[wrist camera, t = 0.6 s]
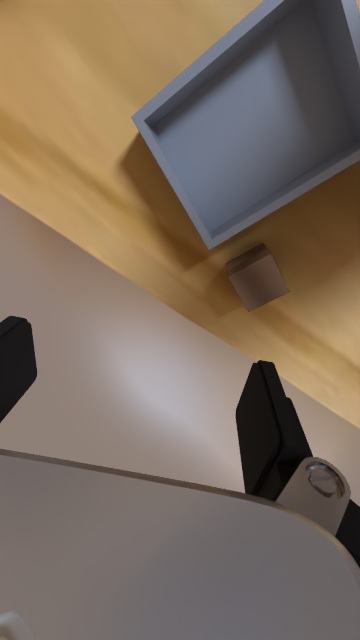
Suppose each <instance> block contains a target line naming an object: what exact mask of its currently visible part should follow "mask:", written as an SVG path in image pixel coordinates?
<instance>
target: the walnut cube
mask: <svg viewBox="0 0 360 640" xmlns="http://www.w3.org/2000/svg"><path fill="white" fill-rule="evenodd" d="M226 269H227V274H228V278H229V280H230V281H231V283H232V285H233V287H234V288H235V290H236V292H237V293H238V295H239V297H240V299H241V300H242V302H243V304H244V306H245V307H246V309H247V311H248V312H249V311H251V310H253V309H255V308H257V307H260V306H262V305H264V304H266V303H268V302H270V301H272V300H274V299H276V298H278V297H280V296H282V295H284V294H286V293H288V292H289V290H288V288H287V286H286V283H285V281H284V279H283V277H282V275H281V273H280V271H279V269H278V267H277V265H276V263H275V261H274V259H273V257H272V255H271V253H270V252H269V251H268V249H267V248H266V247H265V245H264V244H263V243H261V244H260V245H258V246H256V247H254V248H253V249H251V250H249V251H247V252H245V253H244V254H242V255H240V256H238V257H237V258H235V259H233V260H231V261H230V262H228V263H226Z"/></svg>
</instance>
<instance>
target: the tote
mask: <svg viewBox="0 0 360 640" xmlns="http://www.w3.org/2000/svg"><path fill="white" fill-rule="evenodd" d="M131 118H132V120H133V121H134V123H135V125H136V126H137V128H138V130H139V132H140V133H141V135H142V137H143V138H144V140H145V142H146V144H147V145H148V147H149V149H150V150H151V152H152V154H153V156H154V157H155V159H156V161H157V162H158V164H159V166H160V167H161V169H162V171H163V173H164V174H165V176H166V178H167V179H168V181H169V183H170V185H171V186H172V188H173V190H174V191H175V193H176V195H177V197H178V198H179V200H180V202H181V203H182V205H183V207H184V208H185V210H186V212H187V214H188V215H189V217H190V219H191V220H192V222H193V224H194V226H195V227H196V229H197V231H198V232H199V234H200V236H201V238H202V239H203V241H204V243H205V244H206V246H207V248H208V249H209V250H210V249H212V248H214V247H215V246H217V245H219V244H220V243H222V242H224V241H225V240H227V239H229V238H230V237H232V236H234V235H235V234H237V233H239V232H240V231H242V230H244V229H245V228H247V227H249V226H250V225H252V224H254V223H255V222H257V221H259V220H261V219H262V218H264V217H266V216H267V215H269V214H271V213H272V212H274V211H276V210H277V209H279V208H281V207H282V206H284V205H286V204H287V203H289V202H291V201H292V200H294V199H296V198H297V197H299V196H301V195H302V194H304V193H306V192H307V191H309V190H311V189H312V188H314V187H316V186H317V185H319V184H321V183H322V182H324V181H326V180H327V179H329V178H331V177H333V176H334V175H336V174H338V173H339V172H341V171H343V170H344V169H346V168H348V167H349V166H351V165H353V164H354V163H356V162H358V161H359V160H360V16H359V12H358V8H357V4H356V0H264V1H263V2H262V3H261V4H260V5H258V6H257V7H256V8H255V9H254V10H253V11H252V12H250V13H249V14H248V15H247V16H246V17H245V18H244V19H242V20H241V21H240V22H239V23H238V24H237V25H236V26H234V27H233V28H232V29H231V30H230V31H229V32H228V33H226V34H225V35H224V36H223V37H222V38H221V39H220V40H218V41H217V42H216V43H215V44H214V45H213V46H212V47H210V48H209V49H208V50H207V51H206V52H205V53H204V54H202V55H201V56H200V57H199V58H198V59H197V60H196V61H194V62H193V63H192V64H191V65H190V66H189V67H188V68H187V69H185V70H184V71H183V72H182V73H181V74H180V75H179V76H177V77H176V78H175V79H174V80H173V81H172V82H171V83H169V84H168V85H167V86H166V87H165V88H164V89H163V90H161V91H160V92H159V93H158V94H157V95H156V96H155V97H153V98H152V99H151V100H150V101H149V102H148V103H147V104H145V105H144V106H143V107H142V108H141V109H140V110H139V111H137V112H136V113H135V114H134V115H133V116H132V117H131Z"/></svg>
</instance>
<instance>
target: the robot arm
mask: <svg viewBox="0 0 360 640" xmlns="http://www.w3.org/2000/svg"><path fill="white" fill-rule="evenodd" d="M36 377H37V367H36V360H35V352H34V343H33V336H32V328H31V324H30V323H29V322H28V321H27V319H25V318H20V317H15V316H9V317H7V318H6V319H5V320H3V321H2V322H0V423H1V421H2V420H3V419H4V418H5V416H6V415H7V414H8V413H9V412H10V410H11V409H12V408H13V407H14V406H15V404H16V403H17V402H18V400H19V399H20V398H21V397H22V396H23V395H24V393H25V392H26V391H27V390H28V388H29V387H30V386H31V385H32V384H33V382H34V381H35V379H36ZM236 423H237V431H238V439H239V447H240V454H241V462H242V470H243V478H244V486H245V493H241V492H236V491H231V490H226V489H221V488H216V487H211V486H206V485H201V484H196V483H191V482H186V481H180V480H175V479H169V478H164V477H158V476H152V475H147V474H141V473H136V472H130V471H125V470H119V469H114V468H108V467H102V466H96V465H91V464H85V463H79V462H74V461H68V460H62V459H57V458H51V457H45V456H40V455H34V454H28V453H21V452H16V451H10V450H4V449H0V640H360V507H359V506H358V505H357V504H355V503H354V502H353V501H352V500H351V499H350V494H351V491H350V487H349V484H348V482H347V480H346V479H345V477H344V476H343V475H342V473H341V472H340V471H339V470H338V469H337V468H336V467H334V466H333V465H332V464H331V463H329V462H327V461H326V460H323V459H320V458H318V457H313V455H312V452H311V450H310V447H309V444H308V442H307V439H306V437H305V434H304V431H303V429H302V426H301V424H300V421H299V418H298V416H297V413H296V410H295V408H294V405H293V403H292V401H291V399H290V398H288V397H286V395H285V392H284V390H283V387H282V384H281V382H280V379H279V376H278V373H277V370H276V368H275V365H274V363H272V362H267V361H262V360H259V361H258V362H257V363H253V365H252V367H251V370H250V373H249V376H248V379H247V381H246V384H245V386H244V389H243V392H242V395H241V397H240V400H239V403H238V406H237V409H236Z"/></svg>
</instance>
